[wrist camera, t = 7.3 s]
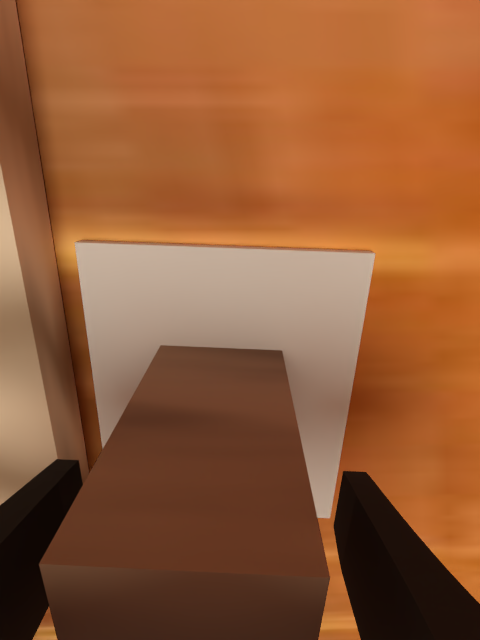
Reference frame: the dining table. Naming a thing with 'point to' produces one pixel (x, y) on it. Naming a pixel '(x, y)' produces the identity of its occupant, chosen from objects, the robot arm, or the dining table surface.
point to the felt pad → (231, 325)
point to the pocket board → (29, 294)
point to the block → (194, 512)
